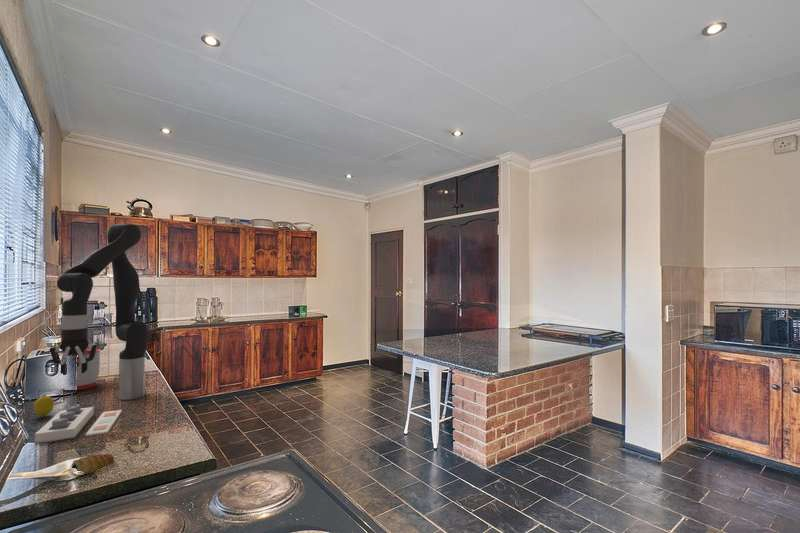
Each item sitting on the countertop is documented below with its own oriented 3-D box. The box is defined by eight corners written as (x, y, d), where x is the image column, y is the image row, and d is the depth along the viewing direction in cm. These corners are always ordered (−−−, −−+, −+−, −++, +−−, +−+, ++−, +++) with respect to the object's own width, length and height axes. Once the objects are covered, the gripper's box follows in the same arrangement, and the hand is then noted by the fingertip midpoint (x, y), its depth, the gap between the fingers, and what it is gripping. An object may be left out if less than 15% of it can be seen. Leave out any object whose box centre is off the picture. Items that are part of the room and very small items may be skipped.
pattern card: (122, 411, 155) (122, 409, 155) (107, 433, 134) (107, 430, 134) (103, 413, 152) (103, 411, 152) (85, 436, 131) (85, 434, 131)
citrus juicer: (47, 395, 174) (47, 350, 174) (68, 384, 191) (69, 343, 191) (88, 392, 178) (89, 348, 178) (106, 382, 195) (106, 341, 195)
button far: (82, 412, 147) (82, 404, 147) (78, 416, 144) (78, 408, 144) (68, 414, 146) (68, 406, 146) (64, 418, 142) (64, 409, 142)
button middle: (76, 419, 141) (76, 410, 141) (72, 423, 137) (72, 414, 137) (61, 421, 139) (61, 412, 139) (57, 425, 136) (57, 416, 136)
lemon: (41, 419, 145) (42, 398, 145) (29, 418, 146) (30, 397, 147) (57, 414, 151) (57, 393, 151) (45, 413, 152) (46, 392, 152)
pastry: (108, 458, 116) (108, 445, 116) (118, 465, 112) (118, 451, 112) (68, 472, 108) (68, 458, 108) (77, 479, 104) (78, 465, 104)
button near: (69, 426, 135) (69, 417, 135) (65, 430, 131) (65, 421, 131) (54, 428, 133) (54, 419, 133) (49, 432, 129) (50, 423, 129)
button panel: (93, 414, 151) (93, 406, 151) (74, 437, 130) (74, 428, 130) (60, 418, 146) (60, 410, 147) (34, 443, 126) (34, 433, 126)
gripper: (101, 324, 151) (100, 369, 151) (53, 327, 145) (52, 373, 145) (95, 327, 145) (95, 374, 144) (45, 329, 139) (44, 378, 138)
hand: (74, 373), depth 145 cm, fingers open, 5 cm apart
